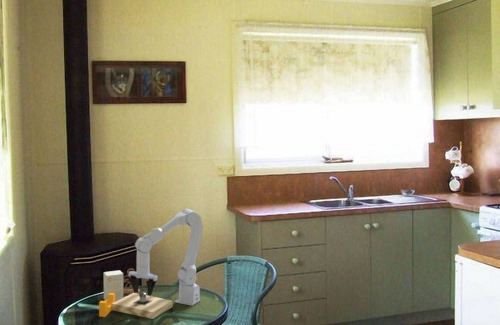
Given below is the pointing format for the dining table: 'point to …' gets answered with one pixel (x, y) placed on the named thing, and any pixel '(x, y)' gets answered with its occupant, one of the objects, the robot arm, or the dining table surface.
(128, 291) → the brown openwork frame
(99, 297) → the dining table surface
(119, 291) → the small box
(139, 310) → the block
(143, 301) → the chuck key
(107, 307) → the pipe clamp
